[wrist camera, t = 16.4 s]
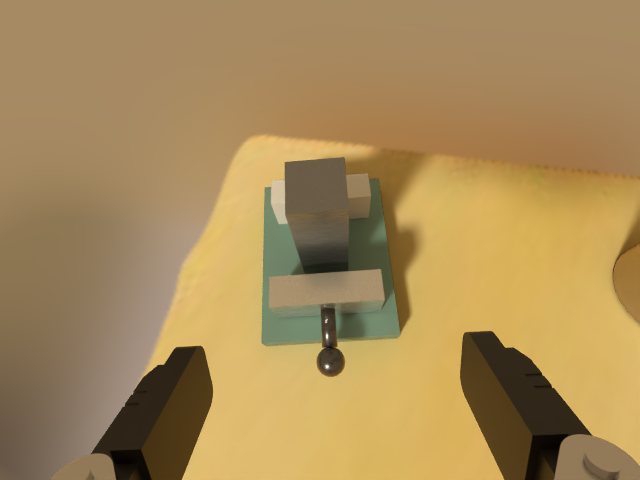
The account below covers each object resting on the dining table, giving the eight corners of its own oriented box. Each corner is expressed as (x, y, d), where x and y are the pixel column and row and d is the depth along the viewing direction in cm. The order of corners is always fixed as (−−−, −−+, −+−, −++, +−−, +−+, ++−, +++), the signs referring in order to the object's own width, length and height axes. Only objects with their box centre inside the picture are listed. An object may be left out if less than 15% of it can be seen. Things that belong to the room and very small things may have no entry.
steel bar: (304, 237, 34) (284, 162, 24) (345, 234, 34) (344, 157, 23) (305, 276, 33) (284, 214, 22) (348, 273, 33) (349, 209, 22)
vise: (397, 338, 32) (407, 325, 26) (266, 346, 32) (250, 335, 27) (376, 188, 39) (381, 154, 33) (268, 197, 39) (255, 164, 34)
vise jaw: (387, 375, 28) (394, 371, 25) (278, 381, 29) (268, 378, 25) (376, 284, 32) (380, 269, 28) (278, 290, 32) (269, 276, 28)
